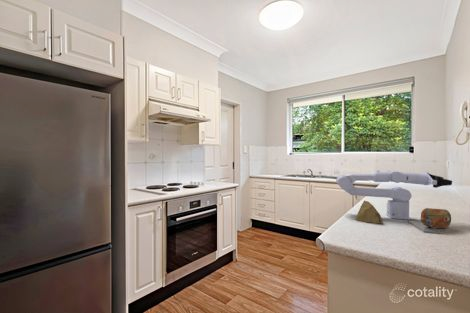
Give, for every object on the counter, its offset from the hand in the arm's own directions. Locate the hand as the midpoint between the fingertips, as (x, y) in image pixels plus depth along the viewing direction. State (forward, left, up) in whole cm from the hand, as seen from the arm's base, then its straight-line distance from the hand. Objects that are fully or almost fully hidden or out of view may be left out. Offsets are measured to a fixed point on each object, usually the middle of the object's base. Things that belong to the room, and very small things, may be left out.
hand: (447, 181), depth 114 cm
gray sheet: (-17, -16, -20) cm, 31 cm away
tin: (-12, -16, -20) cm, 28 cm away
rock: (-38, -14, -21) cm, 45 cm away
